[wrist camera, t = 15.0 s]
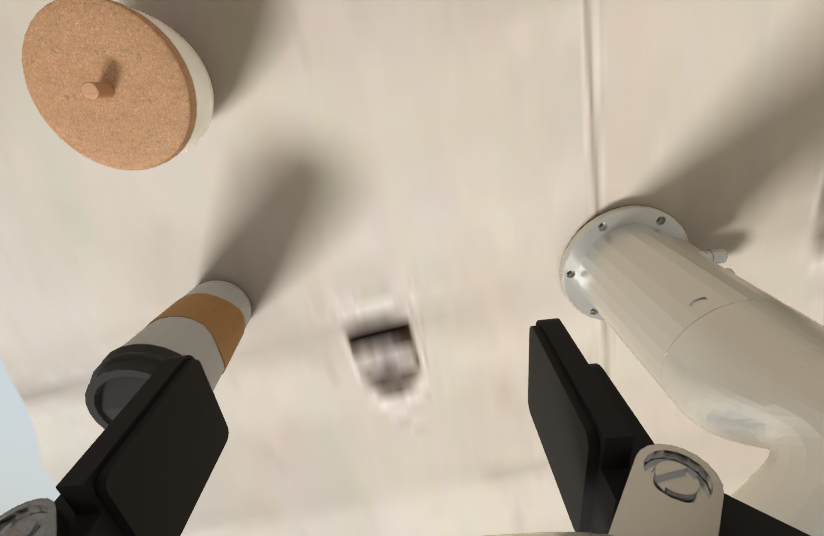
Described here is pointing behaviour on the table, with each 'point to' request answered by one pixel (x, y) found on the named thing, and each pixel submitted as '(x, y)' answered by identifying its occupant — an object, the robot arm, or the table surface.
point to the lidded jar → (116, 83)
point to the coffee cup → (172, 345)
